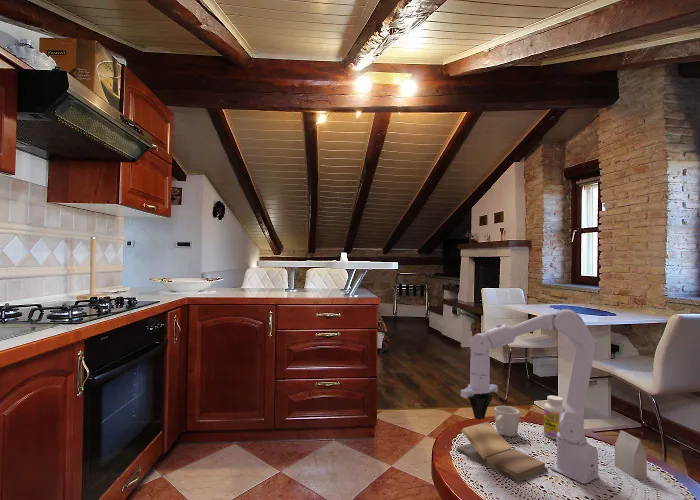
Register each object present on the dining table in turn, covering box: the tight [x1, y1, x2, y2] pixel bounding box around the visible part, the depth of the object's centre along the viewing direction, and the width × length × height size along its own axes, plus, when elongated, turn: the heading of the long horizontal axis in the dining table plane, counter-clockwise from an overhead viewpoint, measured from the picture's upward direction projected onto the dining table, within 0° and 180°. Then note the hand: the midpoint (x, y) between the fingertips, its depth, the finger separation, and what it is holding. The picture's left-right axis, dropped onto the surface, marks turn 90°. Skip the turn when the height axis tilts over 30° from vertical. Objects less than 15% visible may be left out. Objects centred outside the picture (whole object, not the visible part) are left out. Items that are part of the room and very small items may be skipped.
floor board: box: [455, 442, 549, 484], centre depth 114 cm, size 21×13×2 cm, turn 32°
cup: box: [494, 405, 521, 437], centre depth 132 cm, size 11×8×8 cm
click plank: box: [461, 421, 512, 459], centre depth 118 cm, size 10×12×1 cm
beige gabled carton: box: [614, 429, 648, 479], centre depth 109 cm, size 4×7×10 cm, turn 5°
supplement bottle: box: [543, 395, 565, 441], centre depth 132 cm, size 7×7×13 cm
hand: (479, 418), depth 120 cm, fingers closed
